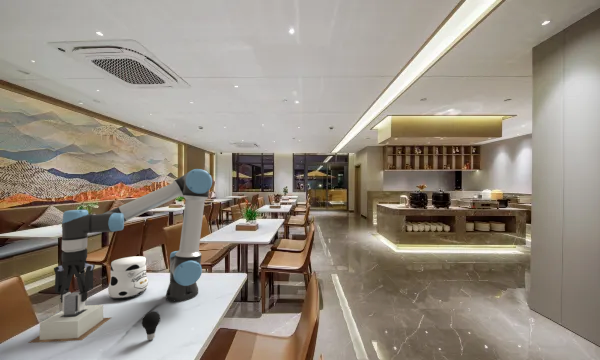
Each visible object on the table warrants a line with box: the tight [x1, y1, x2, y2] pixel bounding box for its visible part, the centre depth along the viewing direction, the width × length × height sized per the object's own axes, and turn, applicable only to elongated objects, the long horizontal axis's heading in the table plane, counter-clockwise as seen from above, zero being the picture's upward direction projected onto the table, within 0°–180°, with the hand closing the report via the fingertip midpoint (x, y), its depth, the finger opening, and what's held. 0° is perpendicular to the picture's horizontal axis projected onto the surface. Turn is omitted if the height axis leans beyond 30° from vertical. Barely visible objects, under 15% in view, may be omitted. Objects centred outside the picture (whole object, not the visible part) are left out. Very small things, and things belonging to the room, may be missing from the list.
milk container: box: [107, 255, 149, 300], centre depth 133 cm, size 17×17×18 cm
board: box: [27, 317, 113, 344], centre depth 98 cm, size 18×16×1 cm
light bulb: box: [141, 310, 161, 341], centre depth 92 cm, size 6×6×10 cm
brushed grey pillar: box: [64, 291, 83, 317], centre depth 98 cm, size 4×4×12 cm
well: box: [39, 304, 104, 340], centre depth 98 cm, size 13×13×6 cm
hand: (73, 310), depth 98 cm, fingers open, 5 cm apart
